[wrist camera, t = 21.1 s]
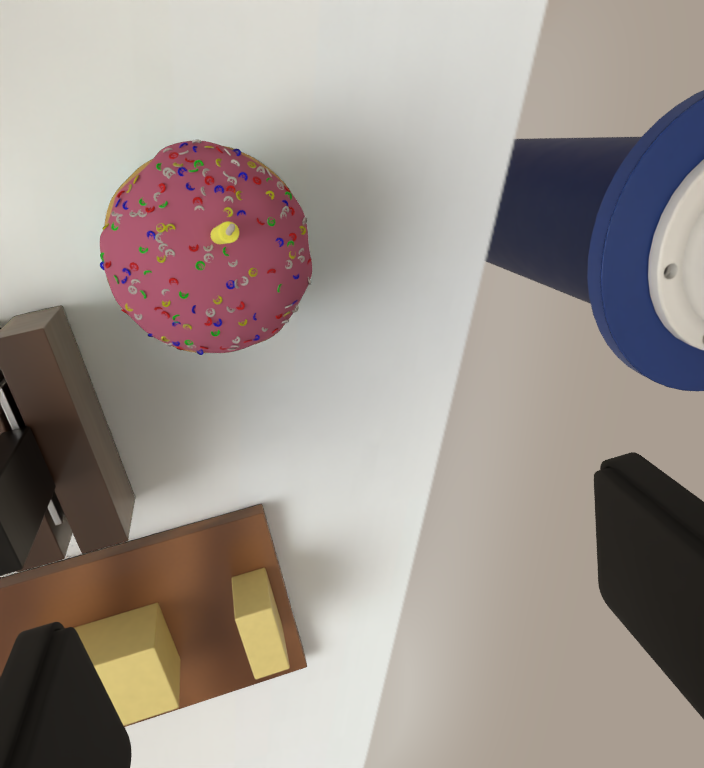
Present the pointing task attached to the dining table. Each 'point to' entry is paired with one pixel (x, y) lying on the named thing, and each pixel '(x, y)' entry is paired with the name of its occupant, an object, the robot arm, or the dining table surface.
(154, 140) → the dining table surface
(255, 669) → the butter slice
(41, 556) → the knife block
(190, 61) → the dining table surface
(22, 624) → the board
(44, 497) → the knife
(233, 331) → the cupcake
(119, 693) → the butter
